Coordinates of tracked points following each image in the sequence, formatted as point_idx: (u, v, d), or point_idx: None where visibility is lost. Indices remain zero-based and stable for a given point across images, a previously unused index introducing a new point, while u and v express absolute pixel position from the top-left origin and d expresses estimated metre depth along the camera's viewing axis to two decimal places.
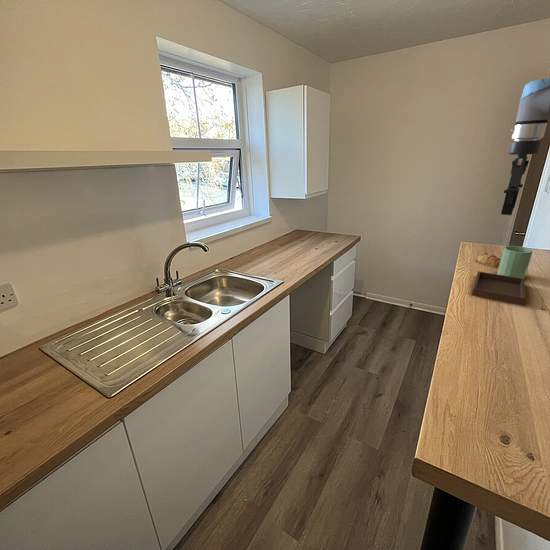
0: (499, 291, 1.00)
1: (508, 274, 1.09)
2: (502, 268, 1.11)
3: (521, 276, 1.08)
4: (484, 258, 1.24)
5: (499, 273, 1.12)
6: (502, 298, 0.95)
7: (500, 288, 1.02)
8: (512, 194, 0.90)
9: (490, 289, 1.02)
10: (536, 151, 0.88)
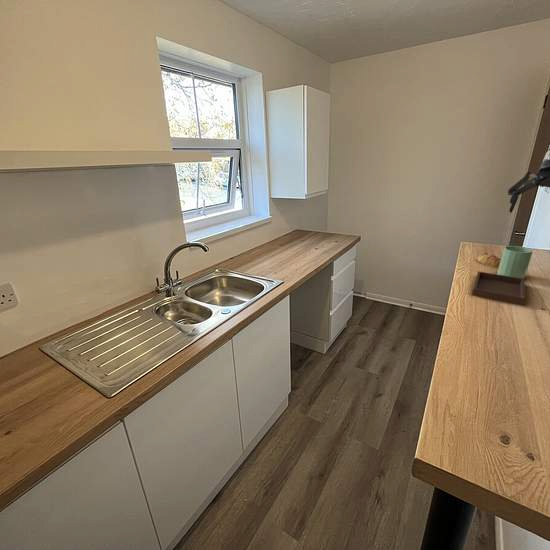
0: (499, 291, 1.00)
1: (508, 274, 1.09)
2: (502, 268, 1.11)
3: (521, 276, 1.08)
4: (484, 258, 1.24)
5: (499, 273, 1.12)
6: (502, 298, 0.95)
7: (500, 288, 1.02)
8: (512, 195, 1.14)
9: (490, 289, 1.02)
10: (545, 165, 1.09)
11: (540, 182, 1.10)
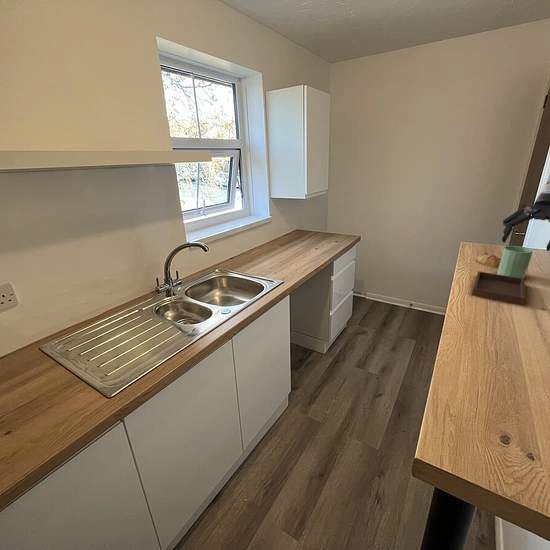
0: (499, 291, 1.00)
1: (508, 274, 1.09)
2: (502, 268, 1.11)
3: (521, 276, 1.08)
4: (484, 258, 1.24)
5: (499, 273, 1.12)
6: (502, 298, 0.95)
7: (500, 288, 1.02)
8: None
9: (490, 289, 1.02)
10: (539, 199, 1.13)
11: (534, 215, 1.13)
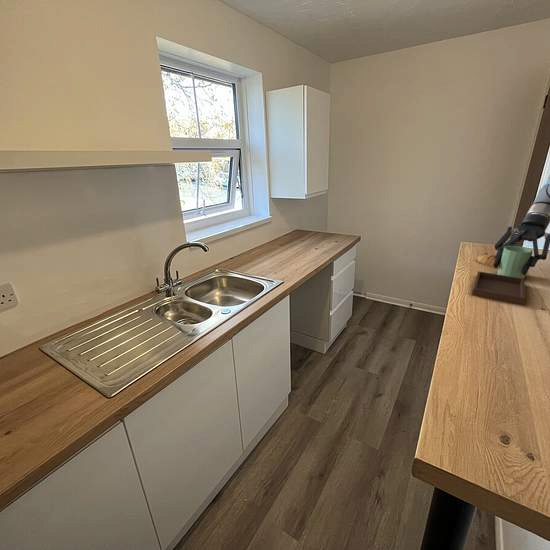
0: (499, 291, 1.00)
1: (508, 274, 1.09)
2: (502, 268, 1.11)
3: (521, 276, 1.08)
4: (484, 258, 1.24)
5: (499, 273, 1.12)
6: (502, 298, 0.95)
7: (500, 288, 1.02)
8: None
9: (490, 289, 1.02)
10: (526, 220, 1.11)
11: (520, 236, 1.11)
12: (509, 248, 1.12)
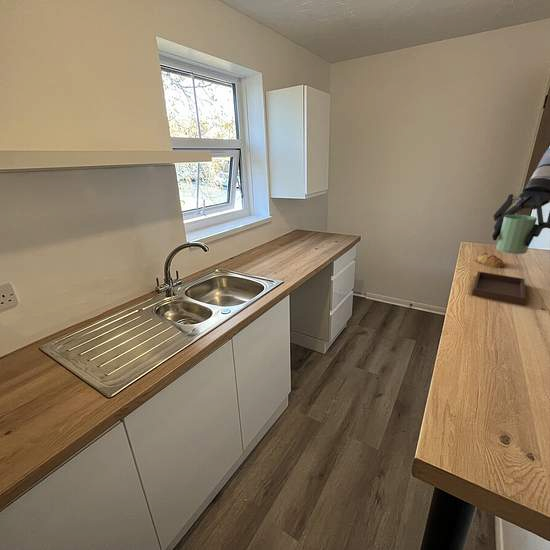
0: (499, 291, 1.00)
1: (509, 246, 0.96)
2: (502, 239, 0.98)
3: (523, 248, 0.95)
4: (484, 258, 1.24)
5: (498, 245, 1.00)
6: (502, 298, 0.95)
7: (500, 288, 1.02)
8: None
9: (490, 289, 1.02)
10: (529, 185, 0.98)
11: (523, 203, 0.99)
12: (510, 217, 0.99)
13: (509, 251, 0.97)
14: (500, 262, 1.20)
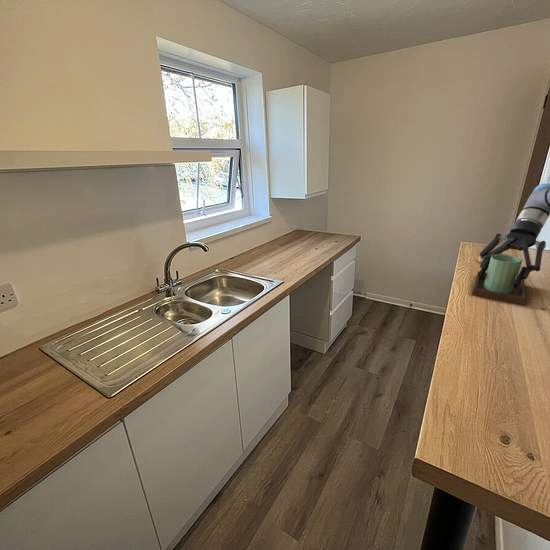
0: None
1: (495, 286, 0.99)
2: (489, 279, 1.00)
3: (509, 288, 0.98)
4: None
5: (486, 284, 1.02)
6: (502, 298, 0.95)
7: None
8: None
9: None
10: (515, 227, 1.00)
11: (509, 244, 1.01)
12: (497, 257, 1.02)
13: (496, 291, 0.99)
14: None
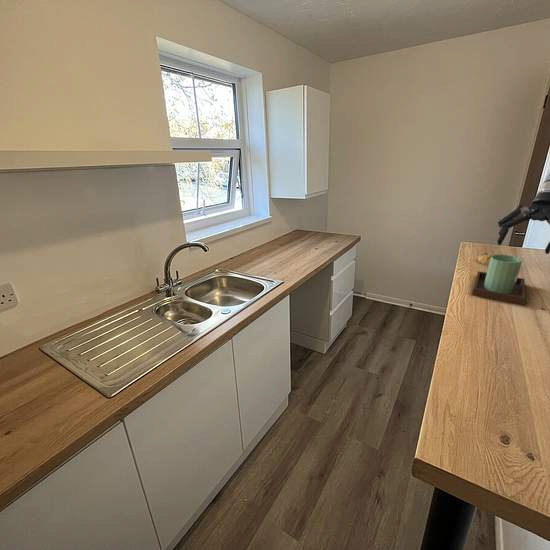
0: None
1: (495, 286, 0.99)
2: (489, 279, 1.00)
3: (509, 288, 0.98)
4: (484, 258, 1.24)
5: (486, 284, 1.02)
6: (502, 298, 0.95)
7: None
8: None
9: None
10: (537, 198, 1.05)
11: (531, 215, 1.05)
12: (497, 257, 1.02)
13: (496, 291, 0.99)
14: None
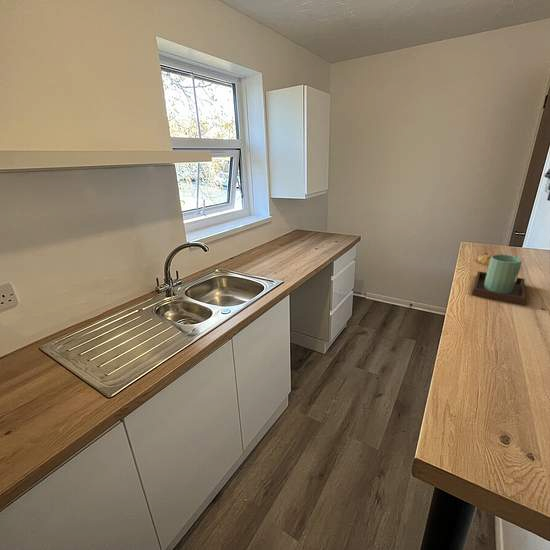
0: None
1: (495, 286, 0.99)
2: (489, 279, 1.00)
3: (509, 288, 0.98)
4: (484, 258, 1.24)
5: (486, 284, 1.02)
6: (502, 298, 0.95)
7: None
8: None
9: None
10: None
11: None
12: (497, 257, 1.02)
13: (496, 291, 0.99)
14: None
